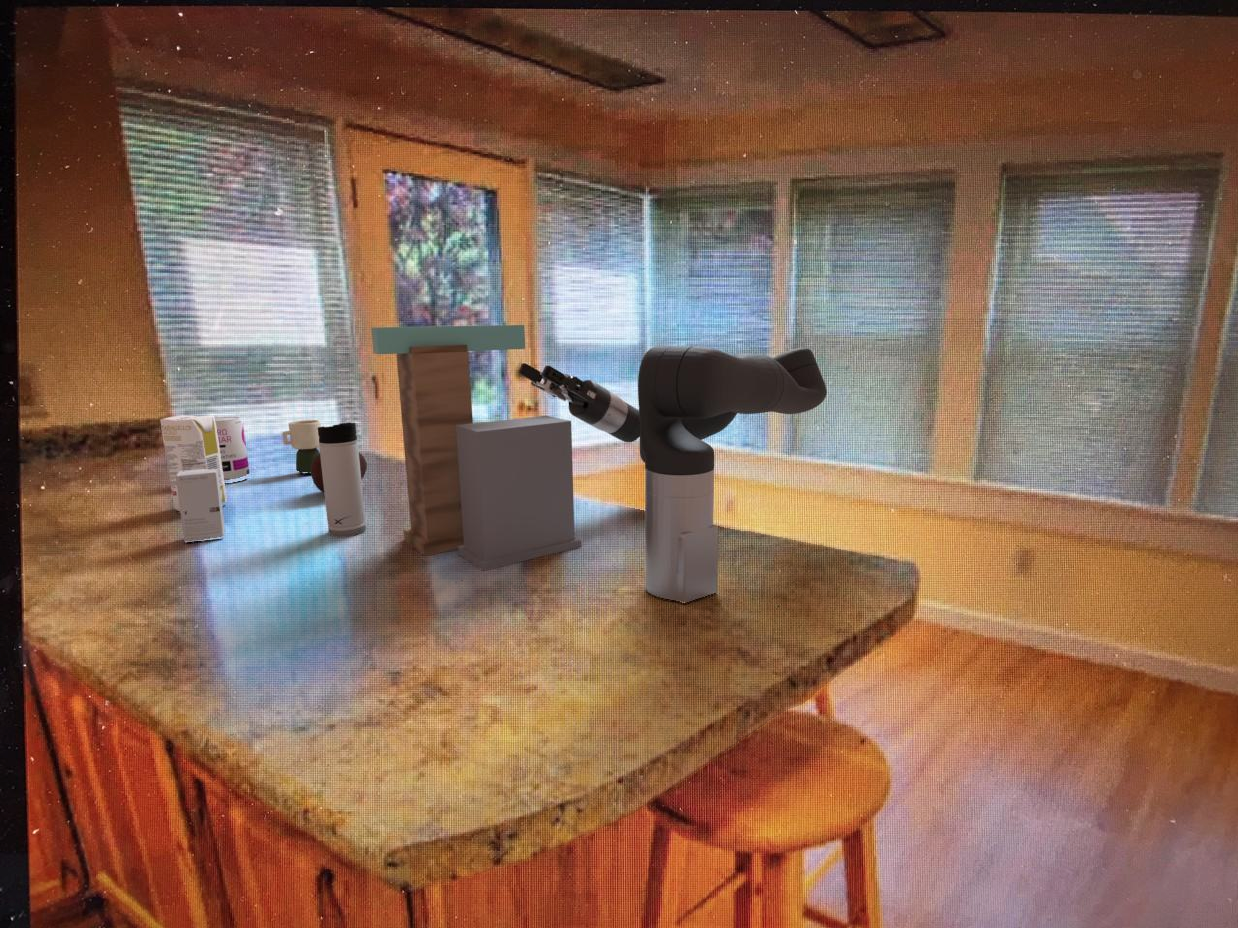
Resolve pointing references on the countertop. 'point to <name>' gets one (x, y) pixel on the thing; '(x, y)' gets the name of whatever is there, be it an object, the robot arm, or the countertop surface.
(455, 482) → the walnut stand
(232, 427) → the supplement can
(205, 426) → the juice carton
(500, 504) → the charcoal pedestal
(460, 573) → the countertop surface
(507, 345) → the teal bar
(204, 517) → the skincare box
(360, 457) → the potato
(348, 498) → the travel mug
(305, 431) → the character mug
